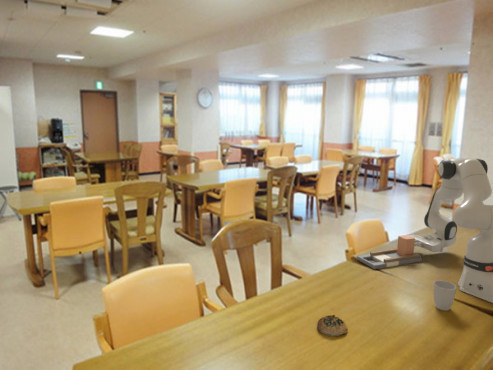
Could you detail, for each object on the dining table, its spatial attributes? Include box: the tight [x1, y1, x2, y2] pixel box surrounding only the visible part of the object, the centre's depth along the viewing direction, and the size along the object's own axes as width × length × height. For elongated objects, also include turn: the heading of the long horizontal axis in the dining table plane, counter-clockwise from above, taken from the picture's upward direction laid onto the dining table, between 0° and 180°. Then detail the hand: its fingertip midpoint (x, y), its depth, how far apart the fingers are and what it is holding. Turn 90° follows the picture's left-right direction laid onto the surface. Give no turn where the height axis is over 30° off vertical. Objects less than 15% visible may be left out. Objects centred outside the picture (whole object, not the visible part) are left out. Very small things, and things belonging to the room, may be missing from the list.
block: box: [396, 234, 415, 256], centre depth 203 cm, size 6×6×10 cm
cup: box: [433, 280, 457, 312], centre depth 150 cm, size 8×8×10 cm
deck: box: [356, 247, 423, 270], centre depth 200 cm, size 14×32×4 cm, turn 111°
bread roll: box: [316, 314, 349, 337], centre depth 134 cm, size 11×11×5 cm
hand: (412, 244), depth 205 cm, fingers closed
